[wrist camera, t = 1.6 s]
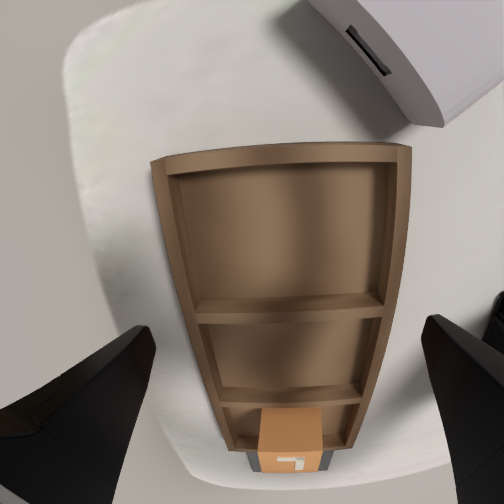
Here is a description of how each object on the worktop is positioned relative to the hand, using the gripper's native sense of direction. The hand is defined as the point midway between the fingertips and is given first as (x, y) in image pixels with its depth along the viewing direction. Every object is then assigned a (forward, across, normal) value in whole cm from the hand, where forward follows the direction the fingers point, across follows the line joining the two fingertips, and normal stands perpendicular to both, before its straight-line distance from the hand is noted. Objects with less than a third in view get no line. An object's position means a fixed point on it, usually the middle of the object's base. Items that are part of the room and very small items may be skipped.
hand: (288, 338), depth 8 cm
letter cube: (+8, 0, +18) cm, 20 cm away
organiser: (+9, 0, +9) cm, 13 cm away
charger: (+10, -11, -14) cm, 20 cm away
